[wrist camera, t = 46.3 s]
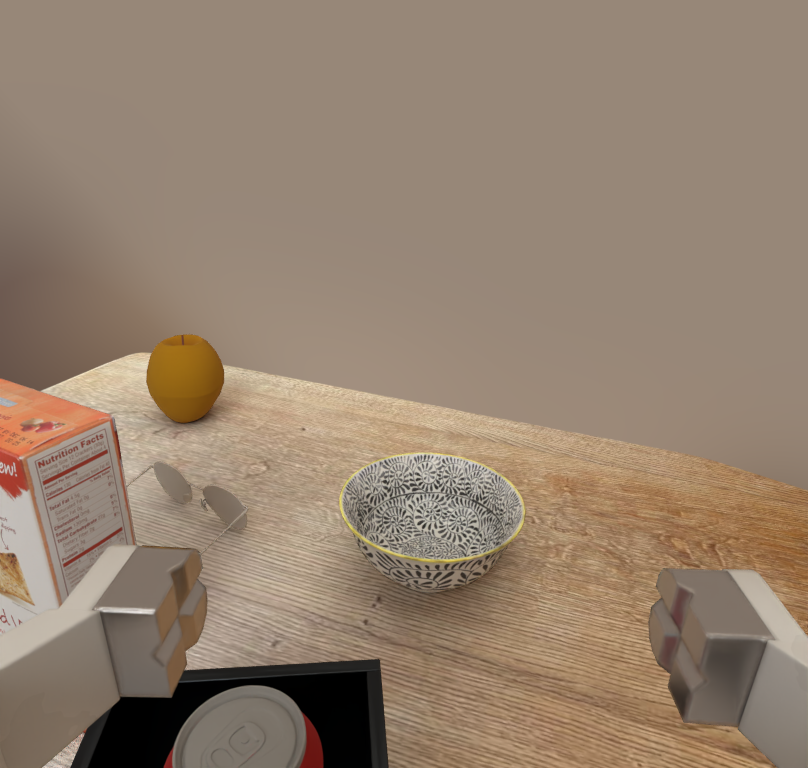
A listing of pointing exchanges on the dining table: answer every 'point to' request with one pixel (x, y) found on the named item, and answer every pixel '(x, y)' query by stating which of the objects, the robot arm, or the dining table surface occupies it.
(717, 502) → the dining table surface
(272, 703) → the beverage can
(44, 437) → the cracker box
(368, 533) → the bowl
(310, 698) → the black open box
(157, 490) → the dining table surface
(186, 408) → the apple
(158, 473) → the sunglasses
